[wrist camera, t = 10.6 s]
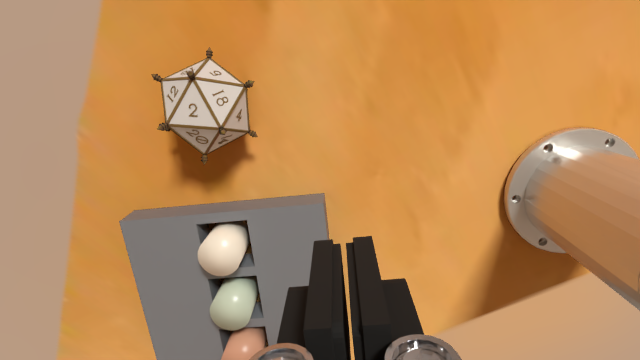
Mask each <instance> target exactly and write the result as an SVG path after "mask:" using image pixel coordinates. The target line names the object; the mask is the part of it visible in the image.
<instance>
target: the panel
mask: <svg viewBox="0 0 640 360" xmlns="http://www.w3.org/2000/svg"><path fill="white" fill-rule="evenodd" d="M241 220H247V224H248V229H249V235H250V241H251V247H252V253H249V254H244V256H243V259H242V261H241V263H240V265H239V267H238V268H237V270H236V271H235V272H233V273H232V274H230V275H227V276H215V275H212V274H210V273H208V272H207V271H205V270H204V269H203V268H202V266H201V265H200V263H199V260H198V249H199V247H200V245H201V244H202V243H203V241H204V240H205V239H206V237H207V236H208V235H209V233H210V229H209V225H208V223H218V222H229V221H241ZM119 222H120V226H121V230H122V233H123V237H124V241H125V244H126V248H127V252H128V255H129V259H130V263H131V266H132V270H133V274H134V277H135V281H136V285H137V288H138V292H139V296H140V300H141V303H142V307H143V311H144V314H145V318H146V322H147V325H148V329H149V333H150V336H151V340H152V344H153V347H154V351H155V355H156V358H157V360H221V358H222V355H223V353H224V350H225V348H226V345H227V343H228V340H229V337H230V335H231V333H230V330H225V329H223V328H221V327H219V326H217V325H216V324H215V323H214V322H213V320H212V318H211V316H210V306H211V304H212V302H213V300H214V298H215V296H216V294H217V292H218V290H219V289H220V287H221V284H220V279H219V278H229V277H242V276H255V275H256V276H257V281H258V287H259V293H260V299H261V302H256V303H255V306H254V309H253V312H252V315H251V318H250V320H249V322H248V324H247V325H246V326H245V327H243V328H247V327H261V326H265V328H266V334H267V339H268V345H269V346H271V345H275V344H277V339H278V334H279V330H280V325H281V320H282V315H283V311H284V306H285V301H286V296H287V292H288V288H289V287H298V286H309V278H310V270H311V261H312V253H313V245H314V241H319V240H329V231H328V222H327V213H326V204H325V195H324V193H321V194H310V195H299V196H288V197H277V198H266V199H255V200H244V201H233V202H222V203H211V204H200V205H189V206H178V207H167V208H156V209H145V210H135V211H133V212H132V213H130V214H129V215H128V216H126V217H125V218H123V219H122V220H121V221H119ZM265 348H266V347H265Z"/></svg>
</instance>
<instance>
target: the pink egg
mask: <svg viewBox="0 0 640 360" xmlns="http://www.w3.org/2000/svg"><path fill="white" fill-rule="evenodd" d="M266 341H267V334H266V328H265V326H261V327H247V328H241V329H239V330H232V332H231V335H230V337H229V340H228V343H227V345H226V348H225V350H224V353H223V355H222V358H221V360H249V359H250V358H251V357H252V356H253V355H255V354H256V353H257V352H258V351H260V350H262V349H264V348H265V345H266Z"/></svg>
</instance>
